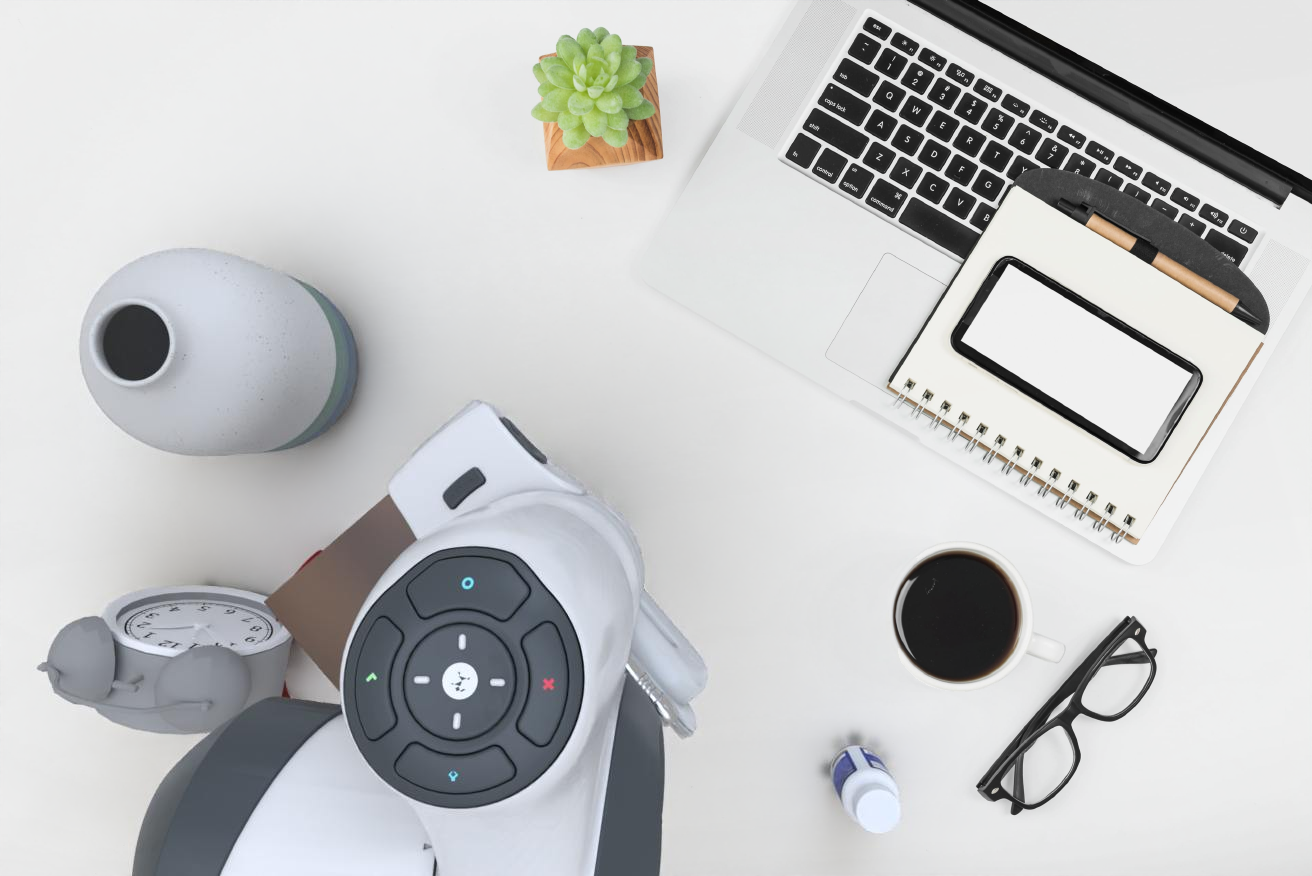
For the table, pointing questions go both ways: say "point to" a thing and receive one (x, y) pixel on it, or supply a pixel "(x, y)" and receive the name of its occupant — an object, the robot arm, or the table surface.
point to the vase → (216, 355)
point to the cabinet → (340, 585)
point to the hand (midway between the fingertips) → (584, 541)
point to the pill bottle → (866, 789)
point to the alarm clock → (172, 658)
